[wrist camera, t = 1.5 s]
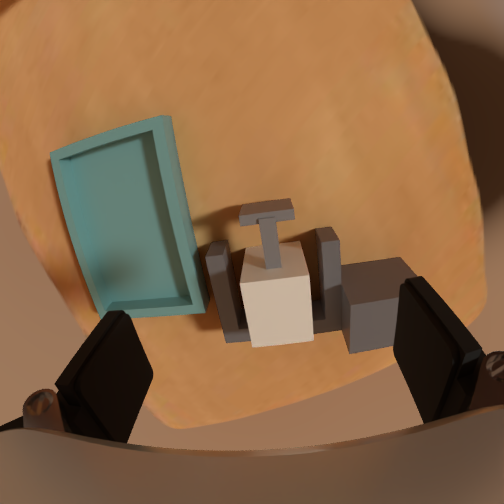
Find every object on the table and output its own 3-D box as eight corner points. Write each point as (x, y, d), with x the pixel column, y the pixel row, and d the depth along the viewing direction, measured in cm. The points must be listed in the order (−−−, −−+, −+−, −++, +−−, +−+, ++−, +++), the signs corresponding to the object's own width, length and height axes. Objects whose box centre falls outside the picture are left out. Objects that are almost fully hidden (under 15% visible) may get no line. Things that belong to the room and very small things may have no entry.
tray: (64, 149, 25) (49, 152, 23) (170, 116, 24) (161, 115, 22) (109, 307, 32) (100, 319, 30) (209, 299, 31) (205, 312, 29)
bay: (212, 242, 29) (196, 276, 22) (401, 218, 27) (435, 245, 20) (229, 322, 32) (221, 367, 25) (397, 299, 30) (422, 339, 24)
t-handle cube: (237, 201, 27) (228, 225, 21) (294, 193, 27) (303, 215, 20) (255, 302, 31) (252, 347, 24) (305, 296, 30) (313, 340, 24)
